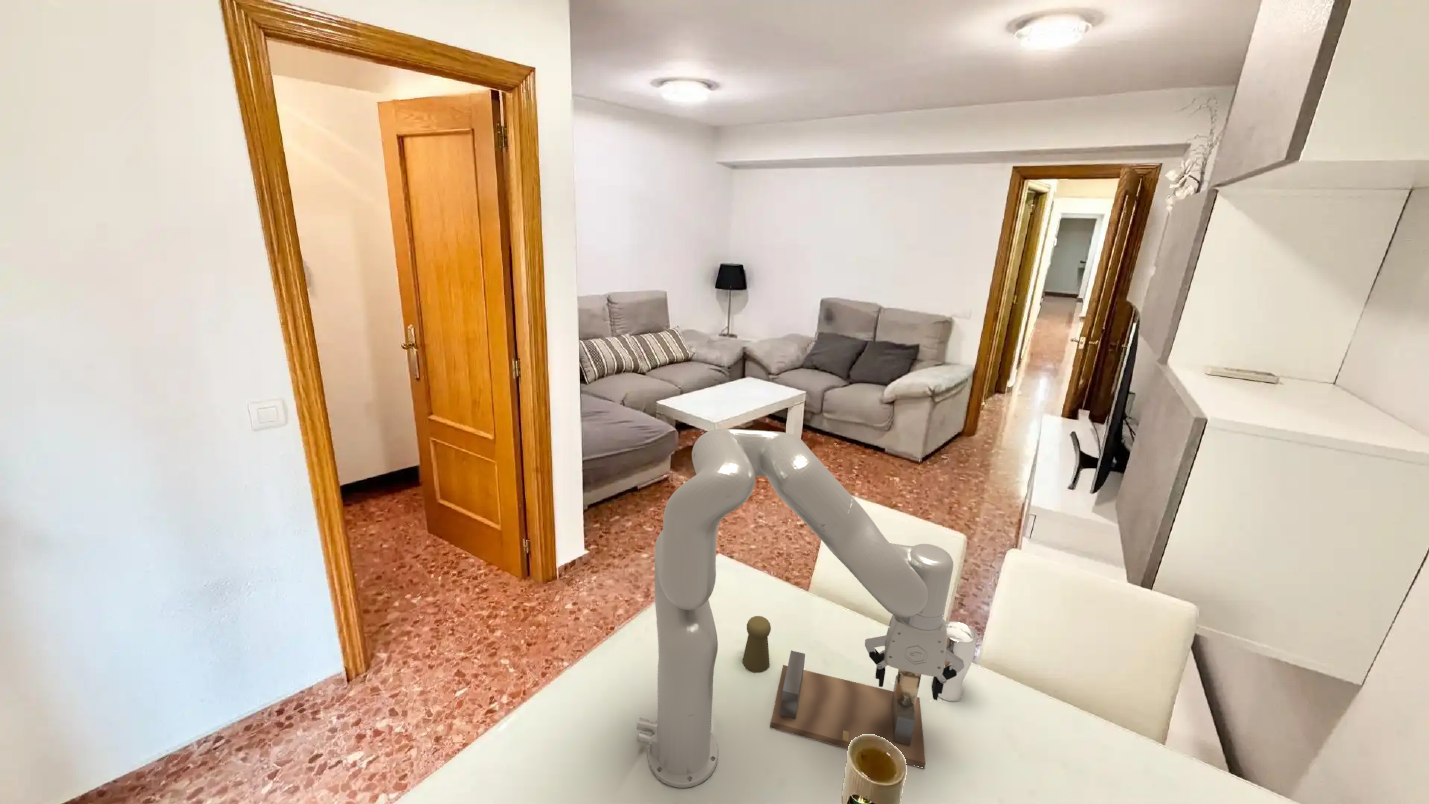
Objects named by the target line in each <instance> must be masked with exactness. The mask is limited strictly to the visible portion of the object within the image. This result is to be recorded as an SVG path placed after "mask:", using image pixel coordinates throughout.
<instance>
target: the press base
mask: <svg viewBox="0 0 1429 804" xmlns="http://www.w3.org/2000/svg"><path fill="white" fill-rule="evenodd" d="M805 658H806V653H804V652H800V651H796V650H790V654H789V658H788V662H787V665H785V664H782V669H781V673H780V677H779V678H780V679H779V681H778V687H777V691H776V697H775V701H774V705H773V709H772V713H771V714H772V715H771V719H770V727H769V728H770V729H774V730H778V731H782V732H785V733H789V734H793V735H796V736H799V737H802V738H807V739H811V740H815V741H818V742H823V743H827V744H829V745H833V746H836V747H840V748H844V749H847V748H848V746H849V744H850V742H851V740H853V739H854V738H855V737H858V736H860V735H862V734H875V735H877V736H880V737H883V738H885V739H886V740H888V741H889V742H891V743H892V744H893V745H894V746H896V747H897V748H898V749H899V750H900V751H901V752H902V754H903V755H904V757H905V759H906V763H907V764H906V765H908V766H910V765H915V766H919V767H923V768H924V769H925V768H926V755H925V745H924V743H925V742H924V733H923V731H924V730H923V721H922V710H921V700H920V699H921V698H920V697H919V696H917V700H916V703H915V704H914V712H915V724H914V729H913V734H912V739H911V745H910V746H909V745H905V744H901V743H898V742H894V741H893V717H892V696H893V690H889V689H885V688H882V687H877V686H873V685H868V684H864V683H860V682H856V681H852V680H848V679H844V678H841V677H840V678H839V677H834V676H831V675H826V674H823V673H818V672H815V671H810V670H807V669H805Z"/></svg>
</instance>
